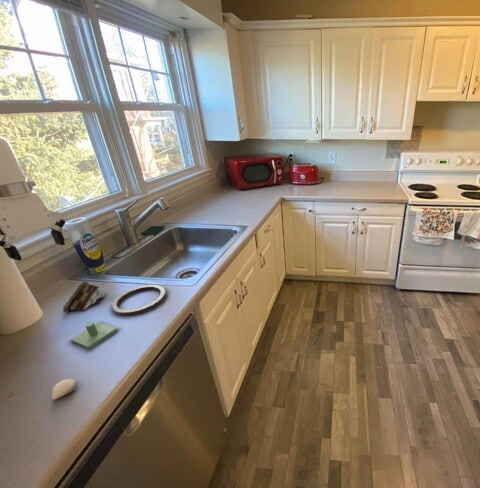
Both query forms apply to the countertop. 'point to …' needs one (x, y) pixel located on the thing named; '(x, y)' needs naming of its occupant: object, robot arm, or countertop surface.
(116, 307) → the hoop
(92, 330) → the peg stand
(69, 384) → the cream half-moon wedge
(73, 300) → the chocolate cake
